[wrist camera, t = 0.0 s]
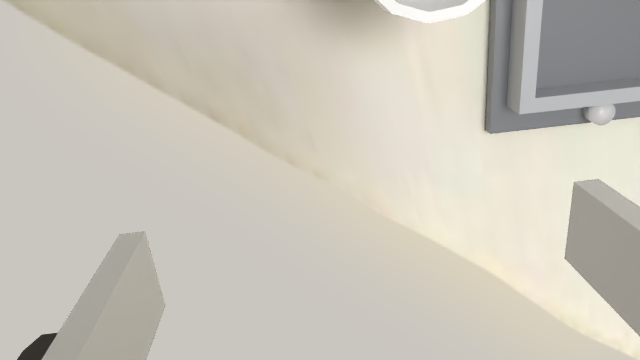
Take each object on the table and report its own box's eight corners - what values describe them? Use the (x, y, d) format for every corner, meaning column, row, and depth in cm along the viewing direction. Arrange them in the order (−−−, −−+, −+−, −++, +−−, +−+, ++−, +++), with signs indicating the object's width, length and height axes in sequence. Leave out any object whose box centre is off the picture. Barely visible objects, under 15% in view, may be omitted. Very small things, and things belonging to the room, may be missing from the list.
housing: (495, -132, 36) (517, -142, 32) (735, -156, 36) (782, -169, 33) (485, 129, 44) (501, 143, 40) (682, 107, 44) (714, 118, 41)
